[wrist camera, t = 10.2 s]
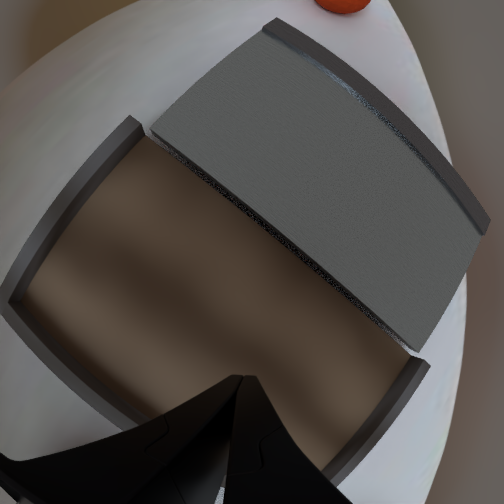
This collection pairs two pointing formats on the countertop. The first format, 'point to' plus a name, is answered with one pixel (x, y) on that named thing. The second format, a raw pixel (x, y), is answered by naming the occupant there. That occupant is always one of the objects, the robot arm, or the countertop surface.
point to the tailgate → (333, 174)
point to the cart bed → (196, 308)
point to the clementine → (343, 5)
